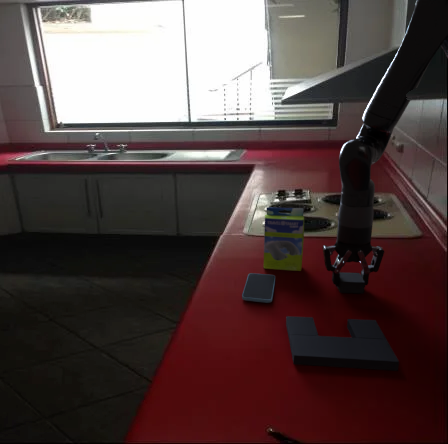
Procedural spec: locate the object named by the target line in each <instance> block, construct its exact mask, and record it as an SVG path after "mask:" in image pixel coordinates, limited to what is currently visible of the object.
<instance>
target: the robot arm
mask: <svg viewBox="0 0 448 444" xmlns="http://www.w3.org/2000/svg"><path fill="white" fill-rule="evenodd" d="M440 48H441V49H442V50H443V52H444V53H445V55H446V57H447V58H448V0H416V1H415V6H414V10H413V12H412V15H411V18H410V21H409V24H408V27H407V29H406V32H405V34H404V37H403V39H402V41H401V43H400V46H399V47H398V50H397V51H396V54H395V56H394V58H393V60H392V61H391V63H390V65H389V67H388V68H387V70H386V72H385V73H384V76H382V78H381V80H380V82H379V84H378V85H377V87H376V89H375V91H374V93H373V94H372V97H371V98H370V100H369V102H368V104H367V106H366V108H365V110H364V112H363V114H362V117H361V122H362V126H361V128H360V130H359V131H358V134H357V135H356V137H355V138H352V139H350V140H347V141H346V142H345V143H344V144H343V145H342V147H341V148H340V152H339V157H338V168H339V175H340V182H341V192H340V204H339V209H338V214H337V215H338V216H337V229H336V230H337V231H336V241H335V243H334V245H322V248H321V249H322V253H323V254H322V256H323V260H324V265H325V269H326V270H327V271H328V272H332V273H331V282H332V284H333V285H334V287H336V288H338V287H339V279H340V273H339V272H341V270H342V269H343V267H345V265H346V263H352V262H353V263H359V264H360V266H361V269H362V270H360V275H361V277H362V279H363V280H364V282H365V286H368V284H369V279H370V274H371V273H373V272H374V273H378V272H379V269H380V266H381V263H382V260H383V257H384V255H385V250H384V249H383V247H382V246H381V245H377V246H373V245H372V244H371V243H372V234H373V224H374V213H375V212H374V202H375V201H374V200H375V193H376V192H375V190H376V187H375V186H376V185H375V182H374V181H373V180H372V179H371V174H372V172H371V171H372V165H375V164H376V163H377V162H378V161H379V160H380V159H381V158H382V156H383V155H384V153H385V151H386V149H387V147H388V145H389V142H390V139H391V138H392V134H393V131H394V130H395V128H396V126H397V124H398V123H399V121H400V119H401V118H402V116H403V114H404V112H405V111H406V109H407V107H408V106H409V104H410V102H411V100H407V99H406V98H407V97H406V94H407V93H408V92H409V91H411V90H413V89H415V88H418V87H419V85H420V82H421V81H422V79H423V76H424V74H425V72H426V71H427V68H428V67H429V65H430V64H431V62H432V60H433V58H434V57H435V55H436V53H437V52H438V50H439V49H440ZM334 251H335V252H336V253H337V256H336V257H335V261H334V263H333V264H332V260H331V256H333V254H334ZM370 253H372V259H371V261H370V265H369V264H368V262H367V259H366V257H368V255H369V254H370Z"/></svg>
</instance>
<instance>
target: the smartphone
mask: <svg viewBox="0 0 448 444" xmlns="http://www.w3.org/2000/svg"><path fill="white" fill-rule="evenodd" d="M275 285H276V275H274V274H265V273H253V272H251V273H248V274H247V278H246V281H245V285H244V288H243V291H242V294H241V299H242V300H243V301H247V302H254V303H255V302H257V303H266V304H269V303H272V302H273V298H274V292H275Z"/></svg>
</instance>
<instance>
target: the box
mask: <svg viewBox="0 0 448 444" xmlns="http://www.w3.org/2000/svg"><path fill="white" fill-rule="evenodd" d="M284 210H285V211H287V212H280V211H284ZM304 212H305V208H304V207H303V208H302V207H274V206H273V207H272V206H271V207H266V214H264V229H263V230H264V234H263V235H264V237H263V242H264V243H263V264H262V265H263V266H262V267H263V269H264V270H265V269H267V270H281V271H291V272H292V271H293V272H302V268H303V267H302V265H303V255H304V254H303V253H304V241H305V215H304Z"/></svg>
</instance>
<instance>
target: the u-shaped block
mask: <svg viewBox="0 0 448 444" xmlns="http://www.w3.org/2000/svg"><path fill="white" fill-rule="evenodd" d="M285 326H286V327H285V328H286V331H287V332H286V333H287V337H288V343H289V348H290V352H291V358H292V363H293V365H299V366H313V367H316V366H317V367H330V368H331V367H332V368H347V369H360V370H361V369H363V370H376V371H393V372H394V371H395V372H398V371H399V366H400V360H399V359H398V356H397V355H396V353H395V352H394V350H393V348H392V346H391V345H390V343H389V341H388V339H387V338H386V335H385V334H384V332H383V330H382V329H381V327H380V325H379V324H378V322H377V320H376V319H357V318H347V324H346V328H347V330H348V333H349V335H350V336H349V337H348V336H331V335H330V336H327V335H319V333H318V330H317V327H316V323H315V319H314V317H313V316H293V315H292V316H289V315H286V317H285Z"/></svg>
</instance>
